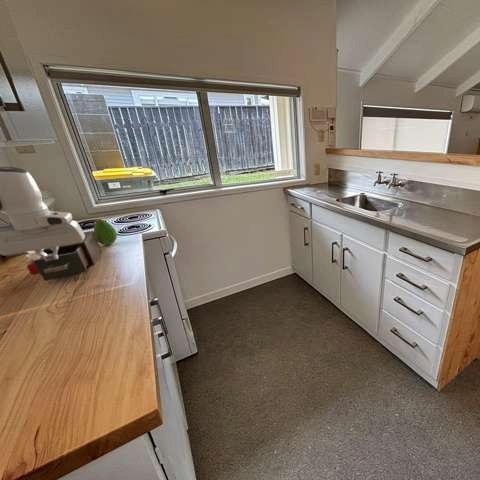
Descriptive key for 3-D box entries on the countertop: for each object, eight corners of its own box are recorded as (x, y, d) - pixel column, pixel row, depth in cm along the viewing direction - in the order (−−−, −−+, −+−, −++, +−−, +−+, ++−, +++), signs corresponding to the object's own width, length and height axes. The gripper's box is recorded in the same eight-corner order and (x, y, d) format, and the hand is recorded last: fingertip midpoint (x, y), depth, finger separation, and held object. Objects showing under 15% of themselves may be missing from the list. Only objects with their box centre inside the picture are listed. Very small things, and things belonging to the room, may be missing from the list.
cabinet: (94, 264, 100) (84, 242, 96) (51, 273, 95) (39, 250, 91) (101, 251, 112) (93, 230, 108) (64, 258, 106) (53, 237, 103)
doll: (30, 274, 95) (23, 261, 93) (33, 271, 97) (26, 258, 95) (40, 272, 96) (33, 259, 94) (42, 269, 98) (35, 257, 96)
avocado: (103, 249, 114) (92, 223, 109) (95, 246, 118) (85, 221, 113) (123, 242, 120) (114, 218, 115) (115, 239, 124) (106, 216, 119)
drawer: (83, 277, 89) (73, 257, 86) (39, 287, 84) (27, 267, 81) (94, 257, 104) (87, 239, 101) (57, 265, 99) (48, 246, 96)
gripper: (-22, 230, 73) (3, 272, 78) (71, 217, 82) (88, 255, 87) (-10, 224, 78) (13, 264, 83) (77, 212, 87) (92, 249, 92)
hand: (52, 259), depth 85 cm, fingers closed
